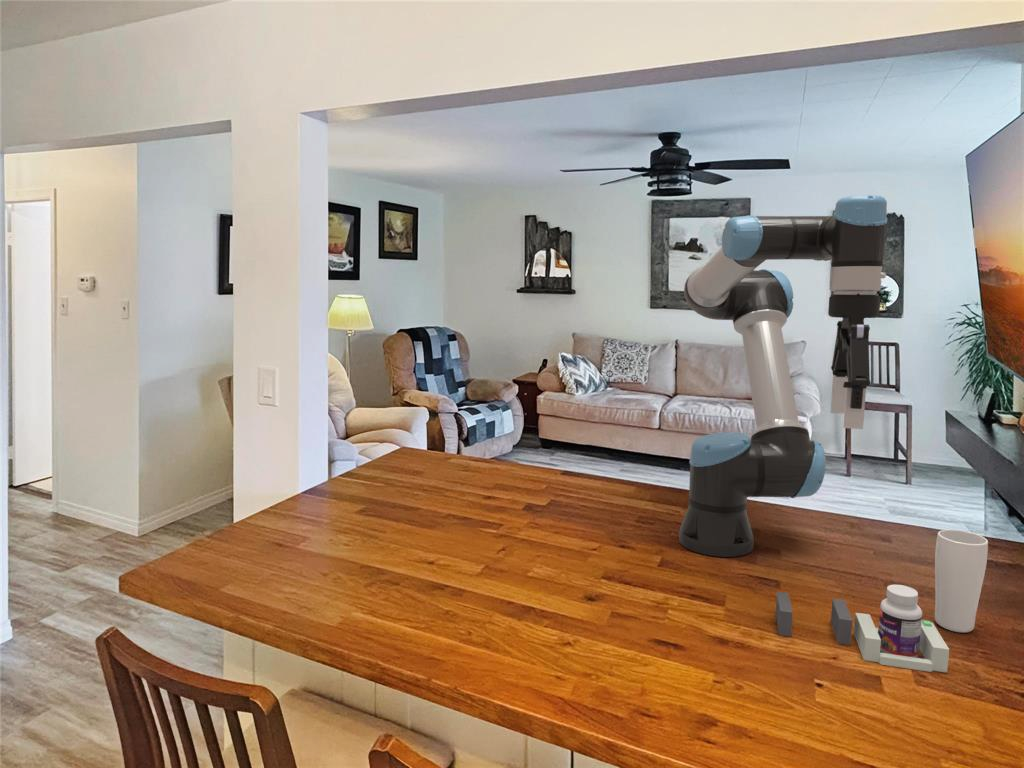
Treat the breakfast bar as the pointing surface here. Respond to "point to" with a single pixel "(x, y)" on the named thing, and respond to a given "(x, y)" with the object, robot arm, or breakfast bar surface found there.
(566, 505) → the breakfast bar surface
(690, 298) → the robot arm
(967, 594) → the drinking glass
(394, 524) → the breakfast bar surface
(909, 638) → the pill bottle
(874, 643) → the port
